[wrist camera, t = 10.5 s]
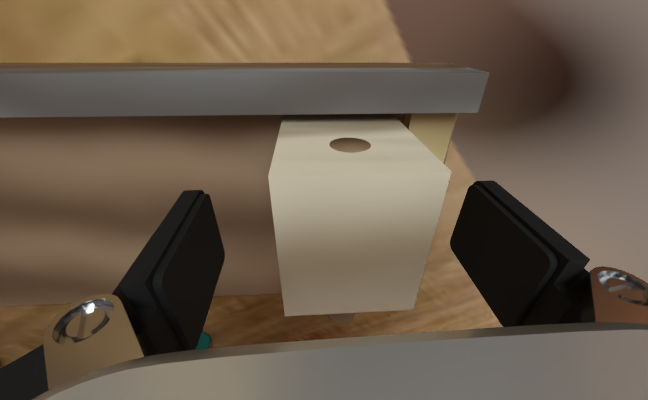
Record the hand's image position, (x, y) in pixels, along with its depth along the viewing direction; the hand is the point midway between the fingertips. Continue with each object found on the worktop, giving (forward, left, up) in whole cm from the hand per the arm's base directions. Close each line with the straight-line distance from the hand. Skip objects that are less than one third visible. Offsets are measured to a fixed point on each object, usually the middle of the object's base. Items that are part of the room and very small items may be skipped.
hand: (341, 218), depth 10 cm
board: (+2, -8, -6) cm, 11 cm away
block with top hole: (+2, 0, -4) cm, 5 cm away
